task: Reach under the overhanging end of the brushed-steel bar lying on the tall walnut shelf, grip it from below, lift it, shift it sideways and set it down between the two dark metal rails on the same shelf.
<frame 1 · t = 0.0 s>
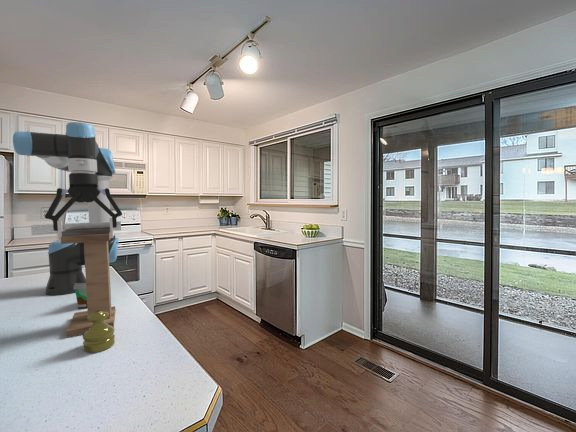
hand: (87, 239, 94), 28 cm above the counter, tool pointing down, fingers open, 13 cm apart
steel bar: (79, 232, 97), point 30 cm above the counter, touching walnut shelf
food container: (95, 305, 113), on the counter
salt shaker: (99, 347, 81), on the counter
walnut shelf: (93, 323, 96), on the counter
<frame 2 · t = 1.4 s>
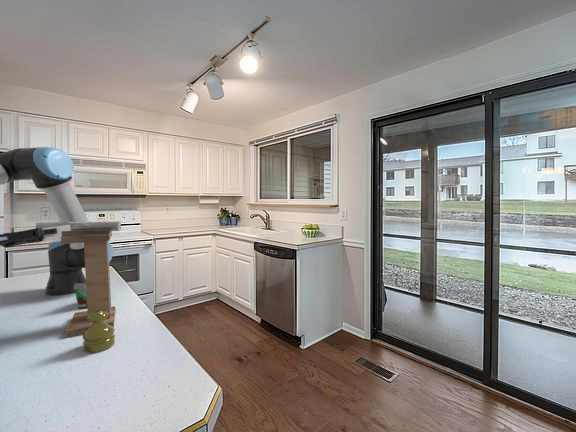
hand: (68, 231, 97), 30 cm above the counter, tool horizontal, fingers open, 13 cm apart
steel bar: (80, 231, 99), point 30 cm above the counter, touching walnut shelf
everything else where it was.
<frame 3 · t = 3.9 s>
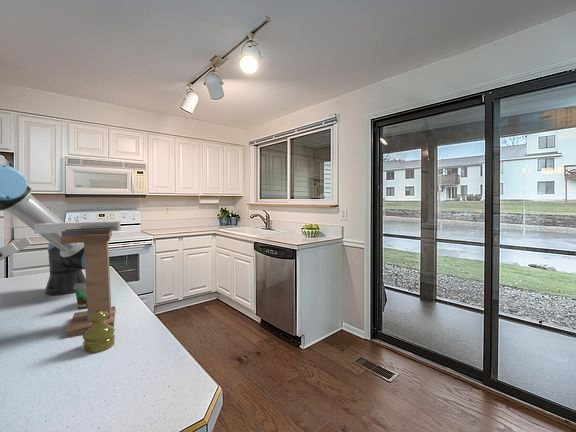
hand: (22, 243, 90), 28 cm above the counter, tool pointing upward, fingers open, 13 cm apart
nothing on the counter moved.
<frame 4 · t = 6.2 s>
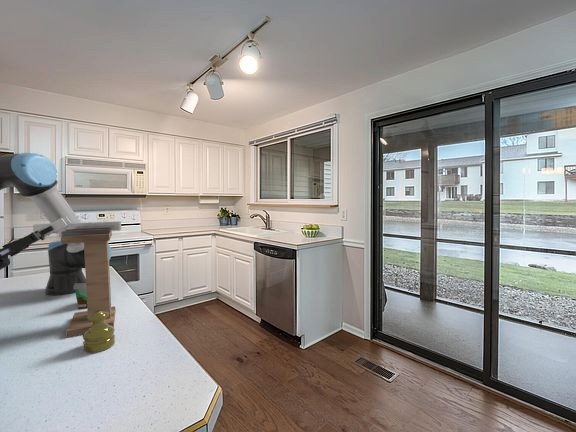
hand: (66, 220, 95), 34 cm above the counter, tool pointing upward, fingers open, 8 cm apart
steel bar: (80, 231, 98), point 30 cm above the counter, touching gripper, walnut shelf
everything else where it was.
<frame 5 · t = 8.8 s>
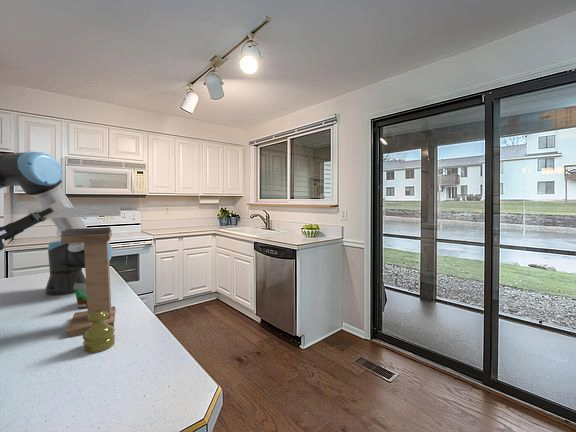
hand: (64, 203, 93), 40 cm above the counter, tool pointing upward, fingers closed on steel bar, 3 cm apart
steel bar: (77, 216, 95), point 35 cm above the counter, touching gripper
everything else where it was.
when the fingers open (35 cm above the counter, at t = 11.2 s): steel bar stays where it is, resting on walnut shelf.
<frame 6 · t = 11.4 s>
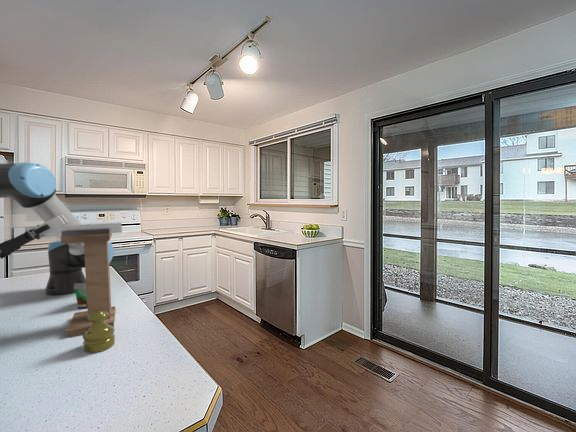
hand: (63, 219, 89), 35 cm above the counter, tool pointing upward, fingers open, 5 cm apart
steel bar: (77, 234, 90), point 30 cm above the counter, touching walnut shelf
everything else where it was.
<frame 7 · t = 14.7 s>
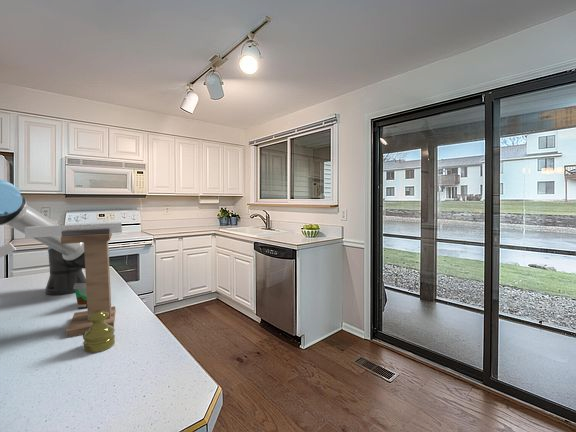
hand: (4, 249, 83), 27 cm above the counter, tool pointing upward, fingers open, 13 cm apart
nothing on the counter moved.
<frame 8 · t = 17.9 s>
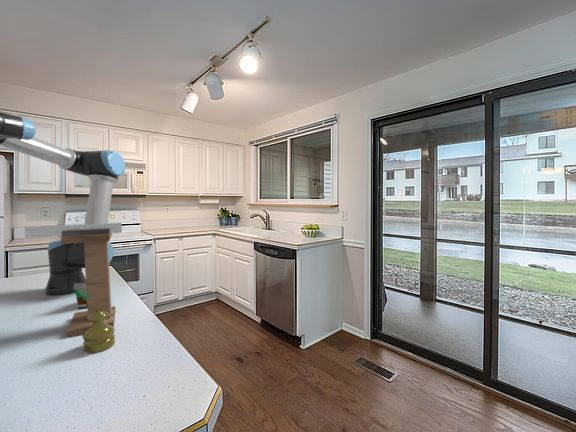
nothing on the counter moved.
at the end: steel bar inside the target area on the walnut shelf (0.4 cm from its centre), point 30.0 cm above the walnut shelf's base; steel bar tilted 0°; the gripper is holding nothing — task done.
